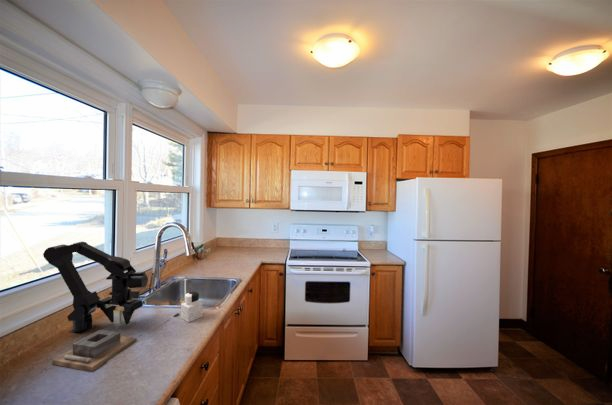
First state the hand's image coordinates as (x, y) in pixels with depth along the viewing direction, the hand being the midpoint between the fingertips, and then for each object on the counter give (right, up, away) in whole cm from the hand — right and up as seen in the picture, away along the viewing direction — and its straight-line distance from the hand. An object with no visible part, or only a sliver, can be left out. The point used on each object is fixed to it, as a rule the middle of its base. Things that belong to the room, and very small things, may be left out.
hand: (119, 322), depth 108 cm
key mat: (0, -2, 0) cm, 2 cm away
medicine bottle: (+27, -3, +10) cm, 29 cm away
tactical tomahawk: (+19, -3, +2) cm, 19 cm away
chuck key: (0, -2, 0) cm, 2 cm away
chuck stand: (+5, -2, -17) cm, 18 cm away
